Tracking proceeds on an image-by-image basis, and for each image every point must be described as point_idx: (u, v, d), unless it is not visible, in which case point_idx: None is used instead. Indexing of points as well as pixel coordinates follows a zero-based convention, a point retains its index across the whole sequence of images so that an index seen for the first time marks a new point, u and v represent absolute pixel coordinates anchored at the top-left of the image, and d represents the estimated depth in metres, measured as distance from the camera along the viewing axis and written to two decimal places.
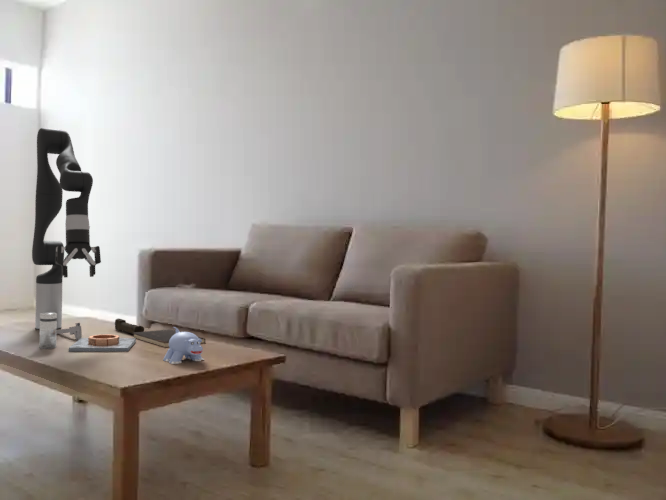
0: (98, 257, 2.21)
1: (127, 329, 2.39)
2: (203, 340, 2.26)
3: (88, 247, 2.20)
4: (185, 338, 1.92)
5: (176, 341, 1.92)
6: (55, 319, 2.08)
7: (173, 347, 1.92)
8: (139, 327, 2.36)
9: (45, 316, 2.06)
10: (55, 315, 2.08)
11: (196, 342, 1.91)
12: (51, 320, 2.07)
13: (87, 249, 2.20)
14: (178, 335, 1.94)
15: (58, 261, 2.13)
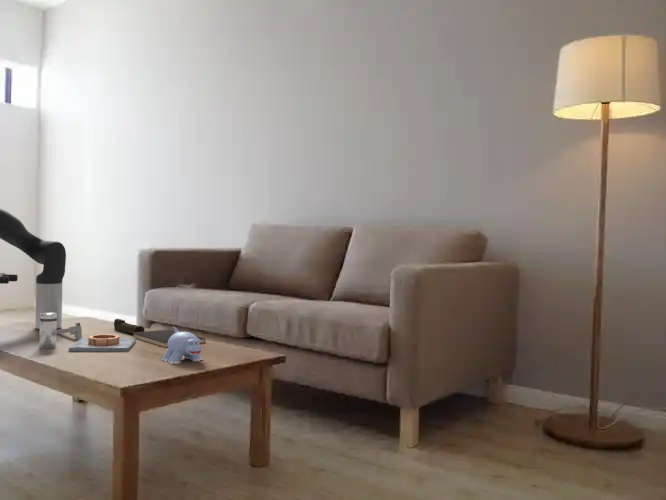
0: None
1: (127, 329, 2.39)
2: (203, 340, 2.26)
3: None
4: (184, 338, 1.92)
5: (175, 341, 1.92)
6: (55, 319, 2.08)
7: (172, 347, 1.92)
8: (139, 327, 2.36)
9: (45, 316, 2.06)
10: (55, 315, 2.08)
11: (195, 342, 1.90)
12: (51, 320, 2.07)
13: None
14: (177, 335, 1.93)
15: None
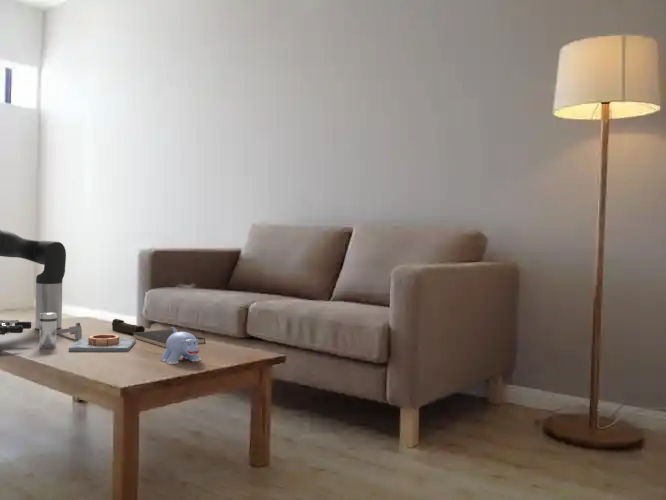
0: None
1: (127, 329, 2.39)
2: (203, 340, 2.26)
3: None
4: (182, 338, 1.92)
5: (173, 341, 1.92)
6: (55, 319, 2.08)
7: (170, 347, 1.92)
8: (140, 327, 2.36)
9: (45, 316, 2.06)
10: (55, 315, 2.08)
11: (193, 342, 1.90)
12: (51, 320, 2.07)
13: None
14: (175, 335, 1.93)
15: None
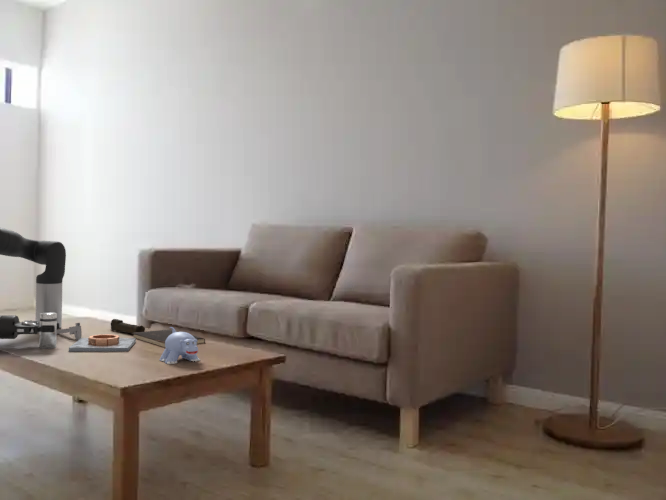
0: (30, 333, 2.03)
1: (127, 329, 2.39)
2: (203, 340, 2.26)
3: None
4: (181, 338, 1.92)
5: (172, 341, 1.92)
6: (55, 319, 2.08)
7: (169, 347, 1.92)
8: (140, 327, 2.36)
9: (45, 316, 2.06)
10: (55, 315, 2.08)
11: (191, 342, 1.90)
12: (51, 320, 2.07)
13: None
14: (174, 335, 1.93)
15: None
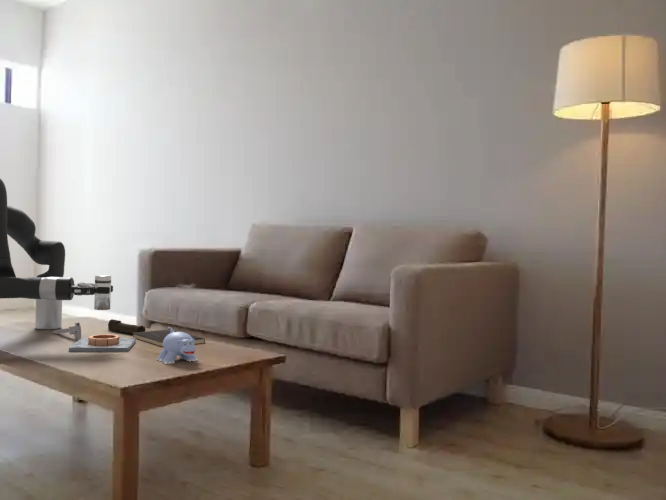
0: (87, 294, 2.07)
1: (126, 329, 2.39)
2: (203, 340, 2.26)
3: None
4: (178, 338, 1.91)
5: (169, 341, 1.91)
6: (110, 281, 2.12)
7: (166, 347, 1.92)
8: (141, 327, 2.36)
9: (100, 278, 2.10)
10: (110, 277, 2.12)
11: (189, 342, 1.90)
12: (106, 282, 2.11)
13: None
14: (172, 335, 1.93)
15: None
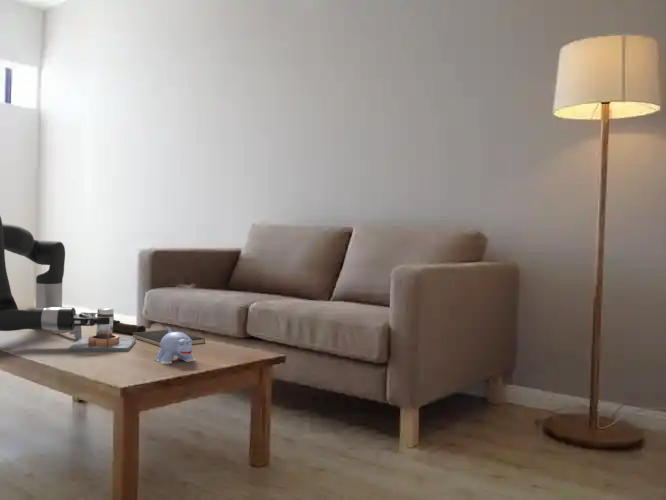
0: (87, 325, 2.07)
1: (126, 329, 2.38)
2: (202, 340, 2.26)
3: None
4: (175, 338, 1.91)
5: (166, 341, 1.91)
6: (112, 315, 2.13)
7: (164, 347, 1.92)
8: (142, 327, 2.36)
9: (103, 311, 2.11)
10: (112, 311, 2.13)
11: (186, 342, 1.89)
12: (108, 316, 2.12)
13: None
14: (169, 335, 1.93)
15: None
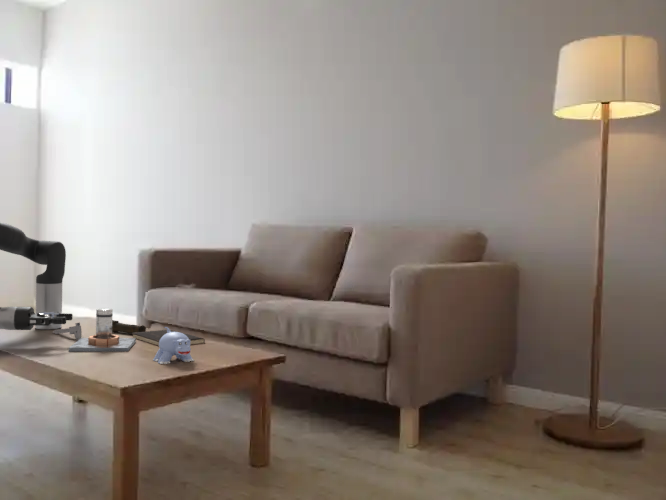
0: None
1: (126, 329, 2.38)
2: (202, 340, 2.26)
3: None
4: (174, 338, 1.91)
5: (165, 341, 1.91)
6: (111, 315, 2.13)
7: (162, 347, 1.92)
8: (142, 327, 2.37)
9: (102, 312, 2.11)
10: (111, 311, 2.13)
11: (184, 342, 1.89)
12: (107, 316, 2.12)
13: None
14: (167, 335, 1.93)
15: None
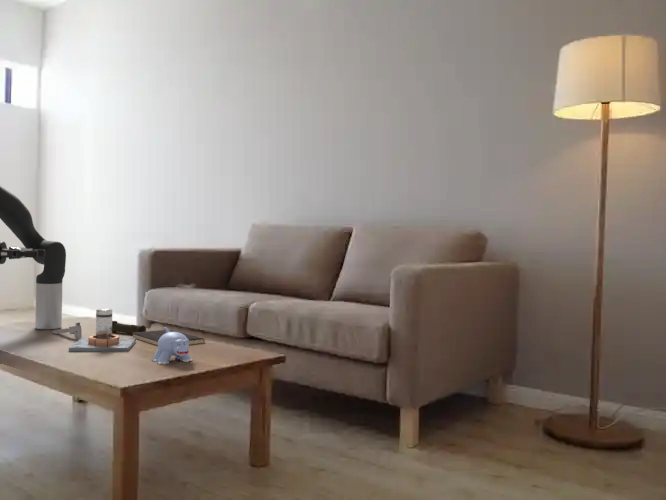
0: (14, 257, 2.06)
1: (126, 330, 2.38)
2: (202, 340, 2.26)
3: None
4: (172, 338, 1.91)
5: (163, 341, 1.91)
6: (111, 315, 2.13)
7: (161, 347, 1.91)
8: (142, 327, 2.37)
9: (102, 312, 2.11)
10: (111, 311, 2.13)
11: (182, 342, 1.89)
12: (107, 316, 2.12)
13: None
14: (166, 335, 1.93)
15: None
